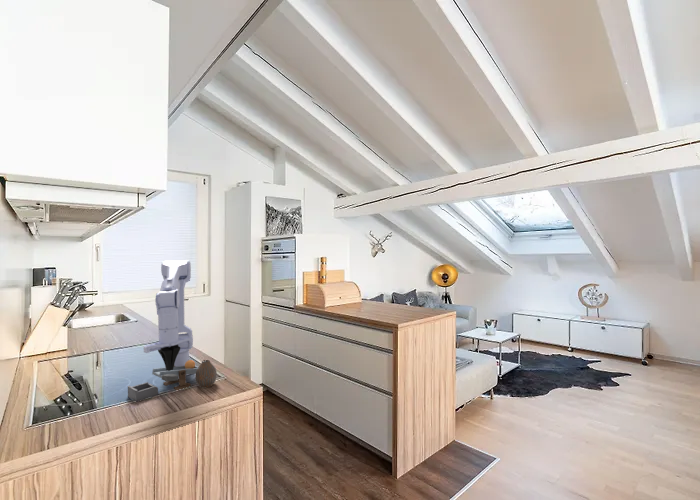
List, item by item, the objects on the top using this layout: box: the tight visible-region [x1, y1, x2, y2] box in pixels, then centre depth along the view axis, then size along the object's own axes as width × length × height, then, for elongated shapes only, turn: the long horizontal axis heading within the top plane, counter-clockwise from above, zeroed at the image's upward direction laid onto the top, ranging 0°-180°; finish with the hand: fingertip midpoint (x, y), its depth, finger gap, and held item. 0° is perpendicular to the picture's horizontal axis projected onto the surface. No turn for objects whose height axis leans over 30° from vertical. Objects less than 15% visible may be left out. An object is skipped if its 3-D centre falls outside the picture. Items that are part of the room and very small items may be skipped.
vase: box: [195, 359, 218, 388], centre depth 125 cm, size 7×7×9 cm
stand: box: [163, 366, 192, 391], centre depth 126 cm, size 10×5×6 cm, turn 51°
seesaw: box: [151, 365, 199, 382], centre depth 123 cm, size 14×15×2 cm
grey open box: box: [127, 381, 159, 403], centre depth 117 cm, size 7×7×4 cm
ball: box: [185, 359, 196, 369], centre depth 130 cm, size 4×4×4 cm
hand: (169, 369), depth 115 cm, fingers closed
